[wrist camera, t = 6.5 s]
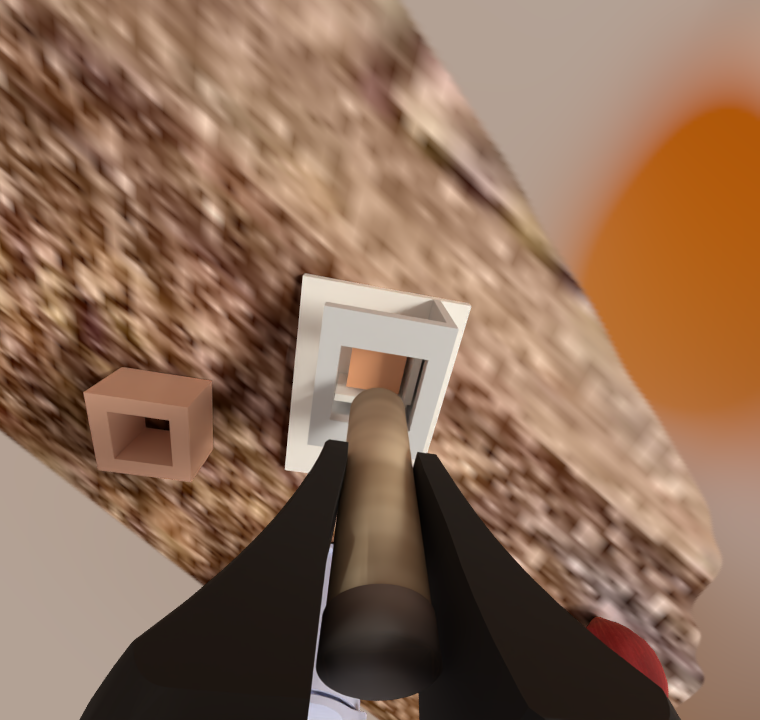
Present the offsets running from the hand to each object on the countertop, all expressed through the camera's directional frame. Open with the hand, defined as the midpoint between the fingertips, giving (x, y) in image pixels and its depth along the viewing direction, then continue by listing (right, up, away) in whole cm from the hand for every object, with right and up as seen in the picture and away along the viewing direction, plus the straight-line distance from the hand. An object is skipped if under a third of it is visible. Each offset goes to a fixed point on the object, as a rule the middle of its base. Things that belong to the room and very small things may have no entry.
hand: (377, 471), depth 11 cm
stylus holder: (-13, 0, +11) cm, 17 cm away
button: (0, +4, +9) cm, 10 cm away
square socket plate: (-1, +1, +11) cm, 11 cm away
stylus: (0, +1, +3) cm, 3 cm away
